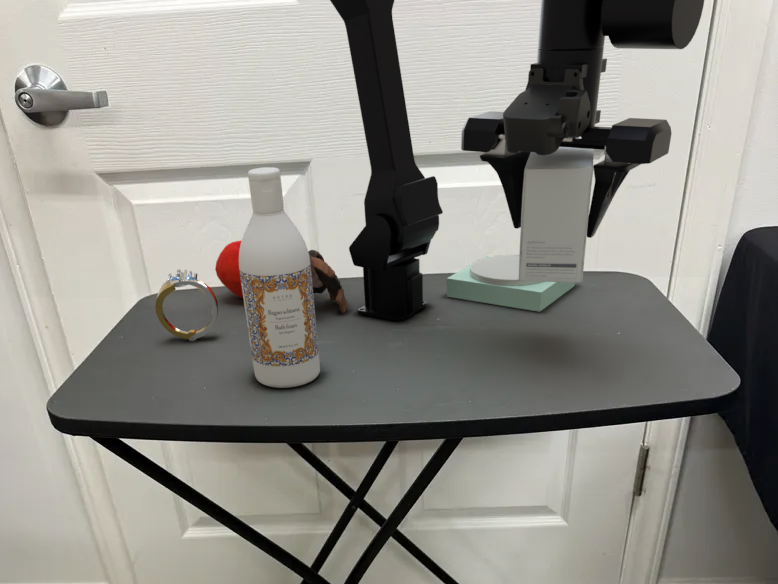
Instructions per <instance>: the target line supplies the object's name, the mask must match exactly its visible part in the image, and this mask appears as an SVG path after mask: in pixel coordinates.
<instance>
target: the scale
mask: <svg viewBox="0 0 778 584" xmlns="http://www.w3.org/2000/svg"><path fill="white" fill-rule="evenodd" d="M575 286H576V283H569V282H540V281H519V254H499V255H492V256H491V255H485V256H483V257H482V258H480V259H477V260H475V261H474V262H472V263H471V264H469V265H467V266H466V267H464V268H462V269H461V270H459V271H457V272H455V273H453V274H452V275H449V277H447V278H446V298H453V299H459V300H464V301H471V302H476V303H483V304H489V305H497V306H501V307H508V308H514V309H521V310H527V311H531V312H542V311H543V310H545V309H546V308H547V307H548V306H549V305H551V304H553V303H554V302H555V301H557V300H558V299H559V298H561V297H563V295H564V294H566V293H567V292H569V291H570V290H571V289H573V288H574V287H575Z"/></svg>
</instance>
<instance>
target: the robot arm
mask: <svg viewBox="0 0 778 584" xmlns="http://www.w3.org/2000/svg"><path fill="white" fill-rule="evenodd" d="M329 1H330V3H331V4H332V6H333V8H334V9H335V10H336V12H337V13H338V15H339V16H340V18H341V20H342V21H343V23H344V26H345V32H346V36H347V42H348V48H349V55H350V60H351V65H352V71H353V76H354V82H355V87H356V93H357V98H358V103H359V108H360V114H361V120H362V121H361V122H362V125H363V131H364V137H365V142H366V148H367V155H368V160H369V166H370V177H369V181H368V184H367V187H366V188H367V189H366V193H365V196H364V201H363V207H364V223H365V226H364V227H363V228H362V230H361V231H360V232H359V234H357V236H356V237H355V238H354V240H353V241H352V243H351V244H350V245H349V246H348V251H349V254H350V258H351V261H352V264H353V265H354V266H355V267H359V268H362V274H363V275H362V276H363V294H364V305H363V306H361V307H359V308H358V309H357V313H358V315H364V316H370V317H375V318H380V319H386V320H391V321H396V322H401V321H404V320H406V319H407V318H409V317H411V316H412V315H414V314H416V313H417V312H419V311H421V310H422V309H424V308H426V307H427V305H428V304H427V303H428V302H427V301H425V300H424V284H423V283H424V281H423V280H424V277H423V273H422V272H420V270H421V269H420V259H419V258H418V257H421V256H426V255H427V254H428V252H429V248H430V245H431V241H432V240H433V238H434V237H435V235H436V233H437V232H438V231H439V227H440V215H442V214H443V213H444V212H443V209H442V206H441V205H440V201H439V190H438V189H439V188H438V187H439V185H438V181H437V178H436V176H435V175H431V176H429V177H425V175H424V174H423V172H422V171H421V170H420V168H419V167H418V165H417V163H416V160H415V157H414V149H413V142H412V136H411V131H410V124H409V116H408V110H407V104H406V97H405V90H404V85H403V78H402V77H403V76H402V72H401V65H400V59H399V58H400V57H399V52H398V45H397V38H396V33H395V27H394V19H393V8H394V4H395V0H329ZM704 5H705V0H540V10H539V11H540V12H539V13H540V14H539V25H538V39H537V40H538V41H537V53H536V62H534V63H530V66H529V67H530V68H529V71H528V76H527V77H528V78H527V83H526V87H525V90H524V91H522V92H520V93H519V94H518V95H517V96H516V97H515V98H514V99H513V100H512V102H510V104H509V105H508V106H507V107H506V109H505V110H504V111H487V112H483V113H479V114H477V115H473V116H470V117H468V118H467V119H466V121H465V122H464V125H463V127H462V130H461V142H460V143H461V145H460V149H461V150H462V151H463V152H477V153H479V152H480V153H481V154H479V159H480V161H481V162H484V163H486V162H487V163H488V164H489V165H490V166H491V168H492V169H493V170H494V172H496V174H497V176H498V179H499V181H500V184H501V187H502V189H503V193H504V196H505V200H506V204H507V206H508V211H509V214H510V218H511V222H512V225H513V228H514V229H521V213H522V195H523V182H524V170H525V166H526V164H527V161H528V158H529V156H530V153H531V152H535V153H537V154H538V155H549V154H552V153H554V152H555V151H557V149H558V148H559V147H571V148H585V149H594V150H601V151H603V155H604V158H603V159H604V160H601V161H599V162H597V163H595V164H593V176H594V184H593V185H594V186H593V190H592V195H591V200H590V206H589V217H588V227H587V237H586V238H589V239H592V238H593V237H594V236H595V235H596V233H597V231H598V229H599V227H600V225H601V223H602V222H603V219H604V217H605V215H606V213H607V211H608V210H609V207H610V205H611V203H612V201H613V199H614V197H615V195H616V193H617V192H618V190H619V188H620V186H621V185H622V184H623V182H624V180H625V179H626V177H627V176H628V174H629V173H630V171H632V170H633V169H636V168H637V167H639V166H641V165H647V164H652V163H653V162H654V161H655V162H656V161H657V160H659V159H661V158H662V157H665V156H666V155H669V152H670V145H671V140H672V127H671V125H670V123H669V122H668V120H667V119H662V118H661V119H659V118H642V117H641V118H639V117H628V118H626V119H623V120H621V121H619V122H617V123H614V124H612V125H611V126H597V125H596V124H599V123H600V122H601V113H602V110H601V109H598V103H599V102H598V101H599V94H600V93H599V92H600V84H601V83H600V82H601V76H602V75H601V74H602V73H606V71H607V63H608V59H607V58H604V49H605V39H606V37H608V40H609V42H610V44H611V45H612V47H613V48H615V49H631V50H632V49H637V50H642V49H643V50H683V49H685V48H687V47H688V46H689V44H690V43H691V42H692V40H693V38H694V36H695V34H696V32H697V30H698V27H699V26H700V25H699V24H700V22H701V18H702V15H703V10H704Z"/></svg>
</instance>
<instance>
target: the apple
mask: <svg viewBox="0 0 778 584" xmlns="http://www.w3.org/2000/svg"><path fill="white" fill-rule="evenodd" d="M241 241H242V240H236V241H231V242H230V243H228V244H227V245H225V247H224V248H223V250H221V252H220V253H219V255H218V256H217V257H218V258H217V259H216V261H215V270H214V271H215V274H216V276H217V278H218V280H219V281H220V283H222V285H223V286H224V287H225V288H227V289H228V290H229V291H230V292H231V293H232V294H234V295H235V296H236V297H238V298H241V299H243V292H242V285H241V278H240V272H239V250H240V244H241Z"/></svg>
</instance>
